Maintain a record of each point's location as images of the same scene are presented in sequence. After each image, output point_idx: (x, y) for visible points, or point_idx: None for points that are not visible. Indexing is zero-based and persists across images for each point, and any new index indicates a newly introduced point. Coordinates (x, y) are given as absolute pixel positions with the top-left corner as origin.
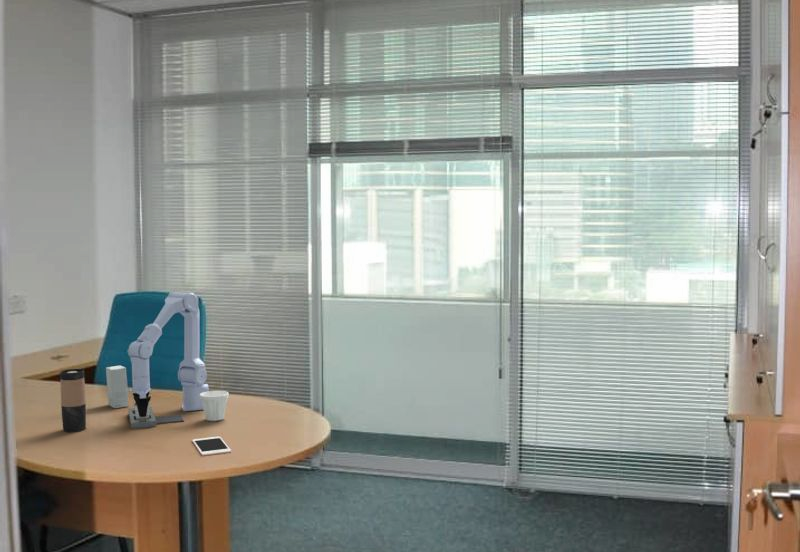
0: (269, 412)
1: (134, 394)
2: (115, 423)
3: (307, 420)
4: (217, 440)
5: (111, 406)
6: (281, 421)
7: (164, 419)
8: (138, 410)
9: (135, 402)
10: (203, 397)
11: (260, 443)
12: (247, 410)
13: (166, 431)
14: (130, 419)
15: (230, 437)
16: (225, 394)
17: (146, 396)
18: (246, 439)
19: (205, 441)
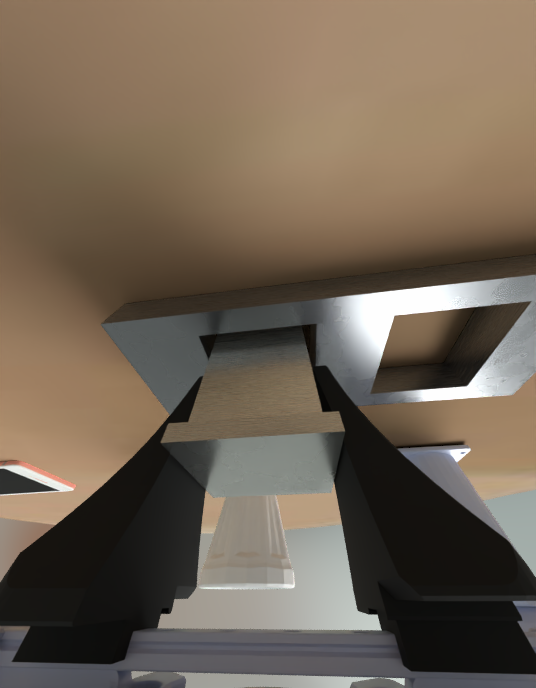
0: (282, 517)
1: (403, 588)
2: (322, 145)
3: (215, 529)
4: (35, 488)
5: None
6: (213, 520)
7: None
8: (169, 416)
9: (321, 442)
10: (208, 580)
11: (61, 509)
12: (315, 506)
13: (111, 420)
14: (229, 308)
15: (88, 493)
16: (226, 588)
17: (346, 543)
18: (81, 502)
19: (12, 479)
